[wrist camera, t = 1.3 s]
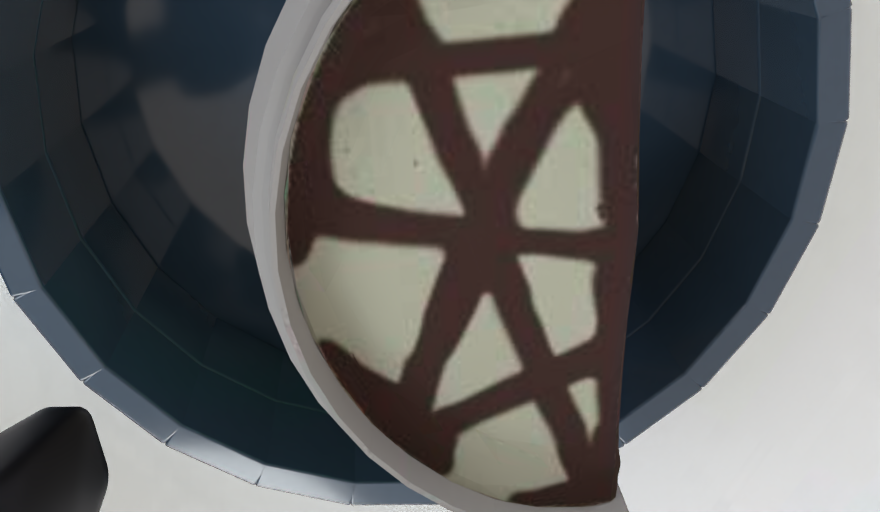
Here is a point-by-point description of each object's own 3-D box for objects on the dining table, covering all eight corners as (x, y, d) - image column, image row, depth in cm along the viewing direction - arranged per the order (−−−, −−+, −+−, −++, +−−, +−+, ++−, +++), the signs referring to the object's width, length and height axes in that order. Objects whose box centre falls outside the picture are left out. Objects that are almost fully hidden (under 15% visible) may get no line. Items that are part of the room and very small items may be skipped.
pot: (181, 433, 24) (138, 572, 19) (-78, -221, 17) (-255, -269, 12) (742, 312, 25) (842, 419, 20) (719, -384, 17) (866, -496, 12)
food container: (250, -172, 18) (143, -242, 9) (526, -183, 18) (698, -261, 9) (310, 320, 23) (283, 601, 14) (526, 302, 23) (636, 563, 14)
